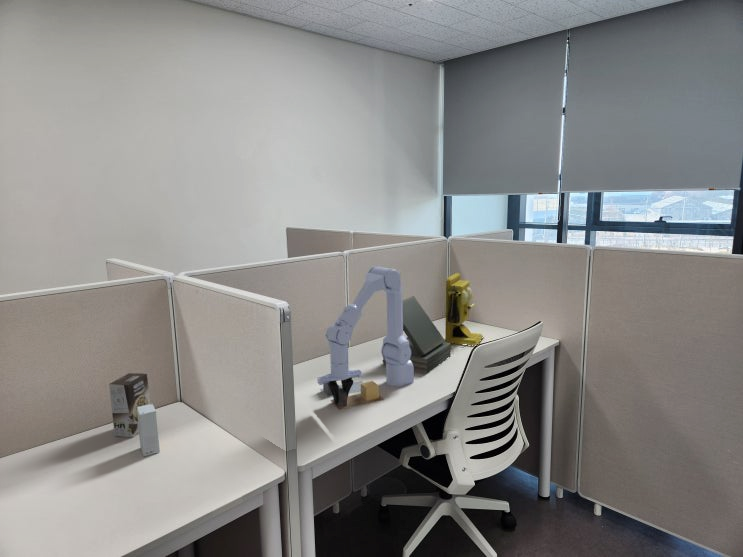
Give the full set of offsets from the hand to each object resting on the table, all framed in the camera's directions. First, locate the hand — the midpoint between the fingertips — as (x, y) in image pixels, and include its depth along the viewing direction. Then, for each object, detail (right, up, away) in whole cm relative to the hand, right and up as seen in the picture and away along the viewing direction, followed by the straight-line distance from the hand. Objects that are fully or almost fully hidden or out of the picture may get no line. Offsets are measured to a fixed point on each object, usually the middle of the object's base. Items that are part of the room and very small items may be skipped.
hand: (340, 401), depth 159 cm
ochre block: (+9, 0, +5) cm, 11 cm away
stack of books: (+29, +6, +42) cm, 51 cm away
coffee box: (-61, -5, -13) cm, 62 cm away
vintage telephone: (+53, +11, +66) cm, 85 cm away
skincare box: (-51, -7, -24) cm, 57 cm away
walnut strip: (+5, -1, +3) cm, 6 cm away
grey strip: (+1, 0, +12) cm, 12 cm away
